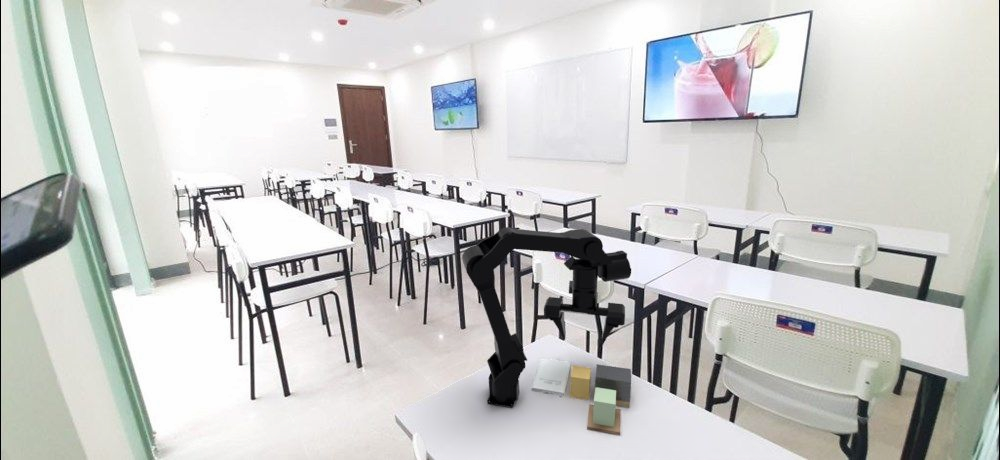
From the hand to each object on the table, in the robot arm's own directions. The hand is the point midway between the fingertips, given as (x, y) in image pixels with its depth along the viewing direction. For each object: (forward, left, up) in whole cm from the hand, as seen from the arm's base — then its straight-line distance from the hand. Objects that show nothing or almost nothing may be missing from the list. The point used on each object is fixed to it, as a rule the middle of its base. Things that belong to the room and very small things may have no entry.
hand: (583, 341), depth 100 cm
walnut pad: (+6, -12, -12) cm, 18 cm away
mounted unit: (+7, -4, -12) cm, 15 cm away
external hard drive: (-8, 0, -13) cm, 15 cm away
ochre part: (0, -4, -12) cm, 13 cm away
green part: (+6, -12, -11) cm, 18 cm away
